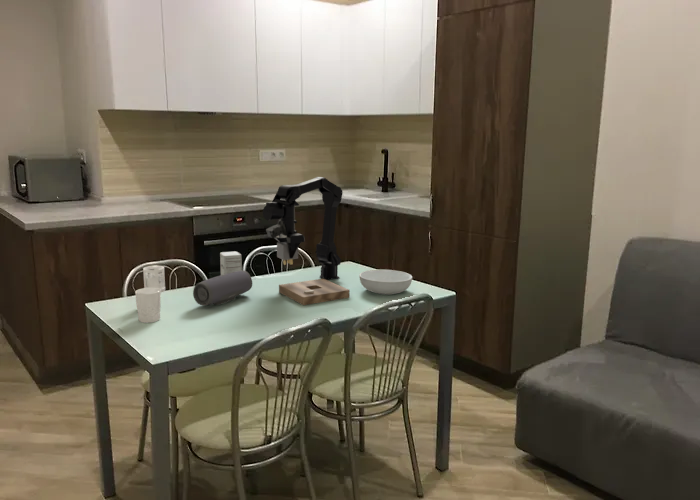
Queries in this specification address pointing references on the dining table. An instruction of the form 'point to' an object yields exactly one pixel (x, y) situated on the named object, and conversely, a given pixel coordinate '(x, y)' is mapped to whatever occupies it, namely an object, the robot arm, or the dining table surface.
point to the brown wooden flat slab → (314, 291)
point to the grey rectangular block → (285, 253)
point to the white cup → (148, 304)
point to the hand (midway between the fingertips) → (287, 256)
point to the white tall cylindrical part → (154, 277)
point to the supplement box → (230, 262)
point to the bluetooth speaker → (222, 288)
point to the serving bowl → (385, 281)
